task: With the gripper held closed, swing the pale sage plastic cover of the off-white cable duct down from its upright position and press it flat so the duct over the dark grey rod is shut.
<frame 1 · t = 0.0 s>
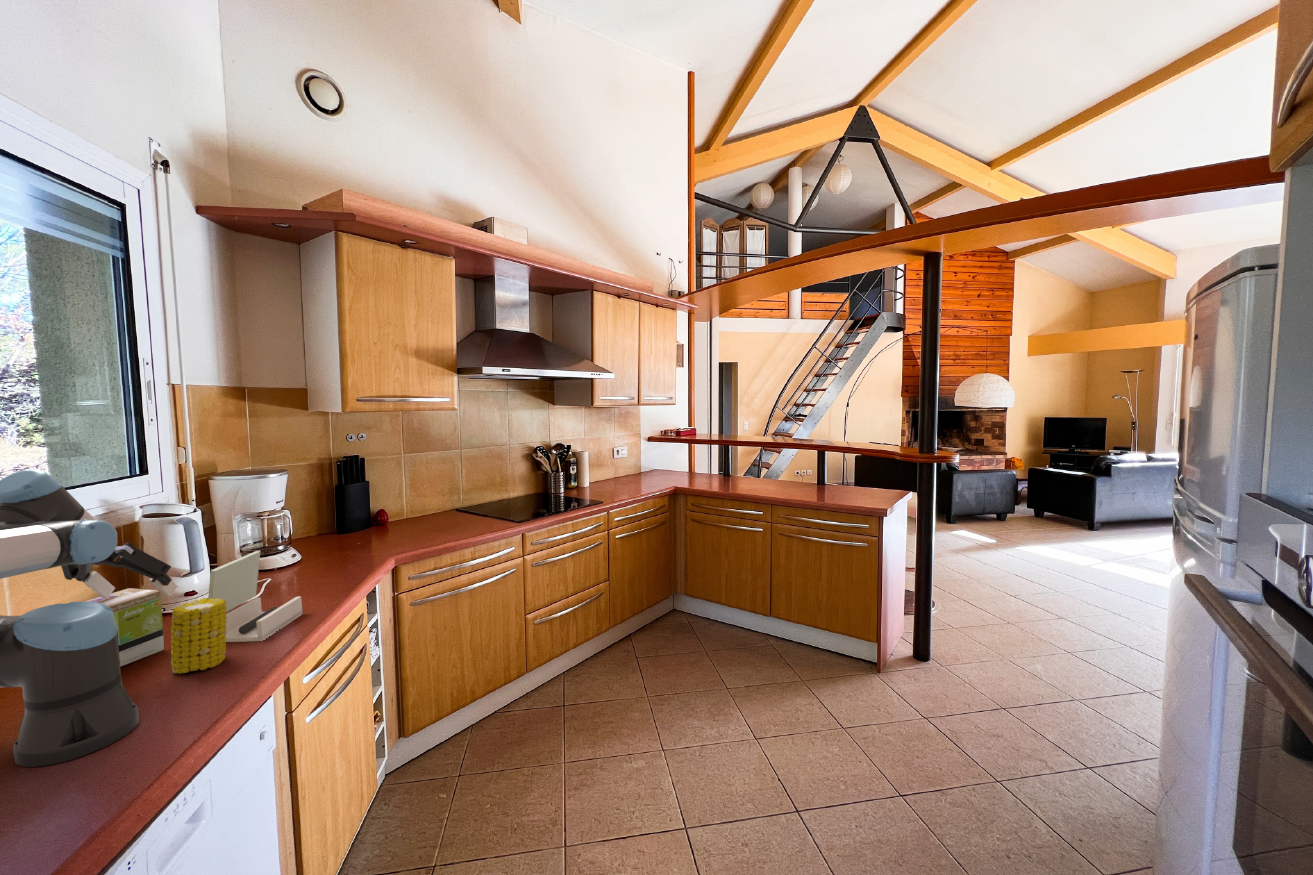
hand: (141, 592, 123), 16 cm above the countertop, tool tilted 35°, fingers open, 13 cm apart
tea box: (113, 663, 123), on the countertop, touching gripper
dark grey rod: (260, 627, 141), resting on cable duct
food: (202, 665, 122), on the countertop
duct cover: (234, 583, 140), point 12 cm above the countertop, hinge at 80.0°
cable duct: (260, 627, 141), on the countertop
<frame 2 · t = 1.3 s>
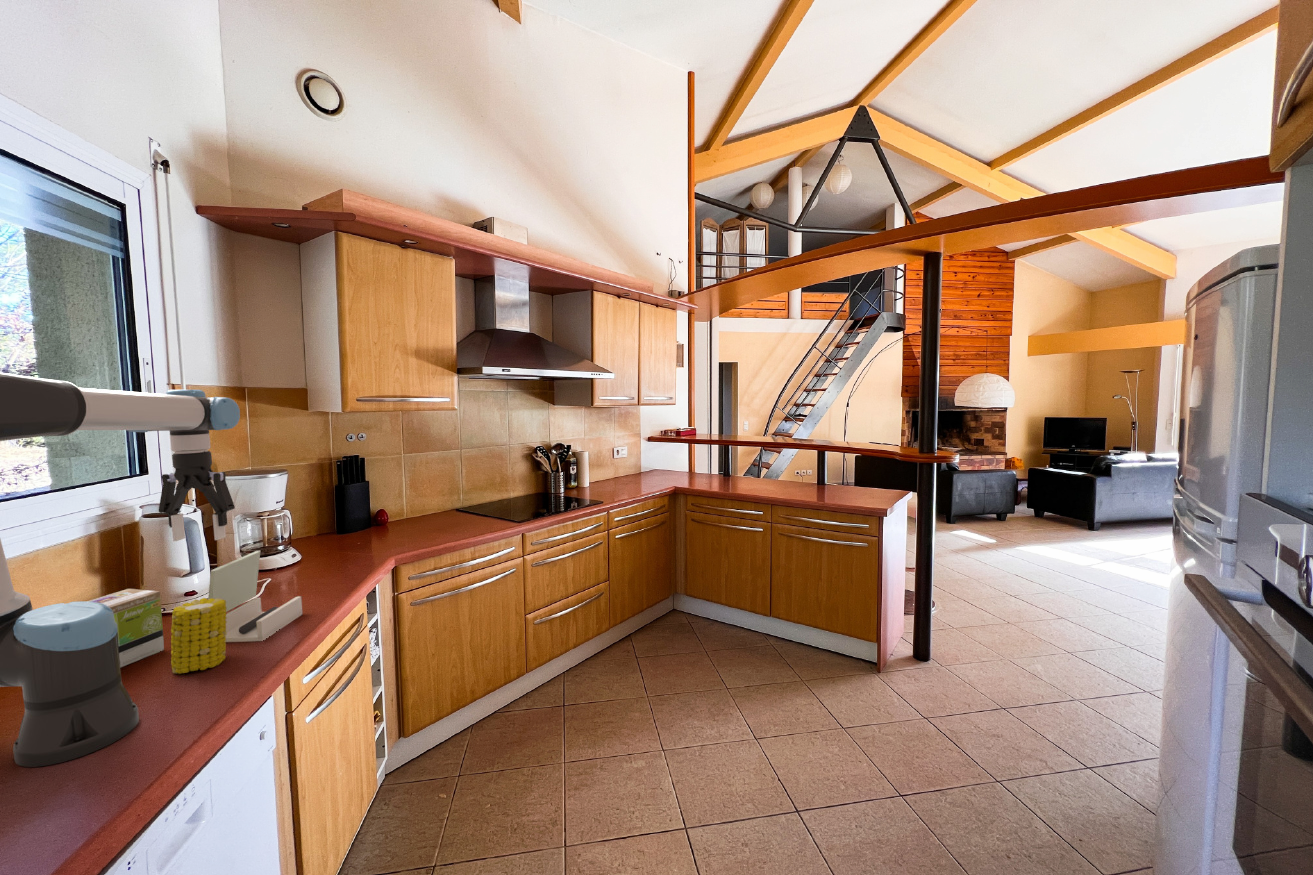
hand: (199, 539, 139), 24 cm above the countertop, tool pointing down, fingers open, 9 cm apart
tea box: (113, 664, 123), on the countertop
everything else where it was.
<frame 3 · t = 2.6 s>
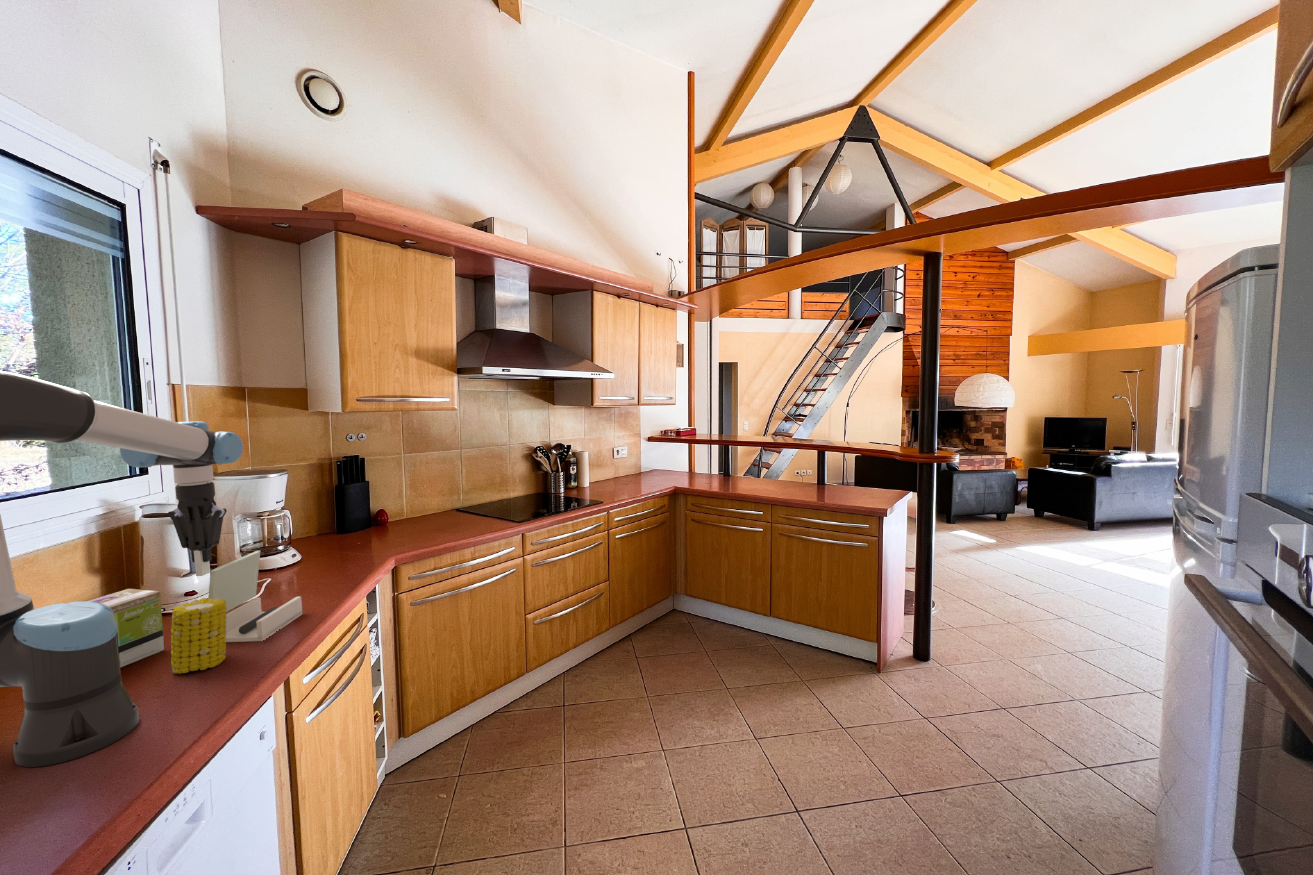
hand: (203, 574, 139), 15 cm above the countertop, tool pointing down, fingers closed
nothing on the countertop moved.
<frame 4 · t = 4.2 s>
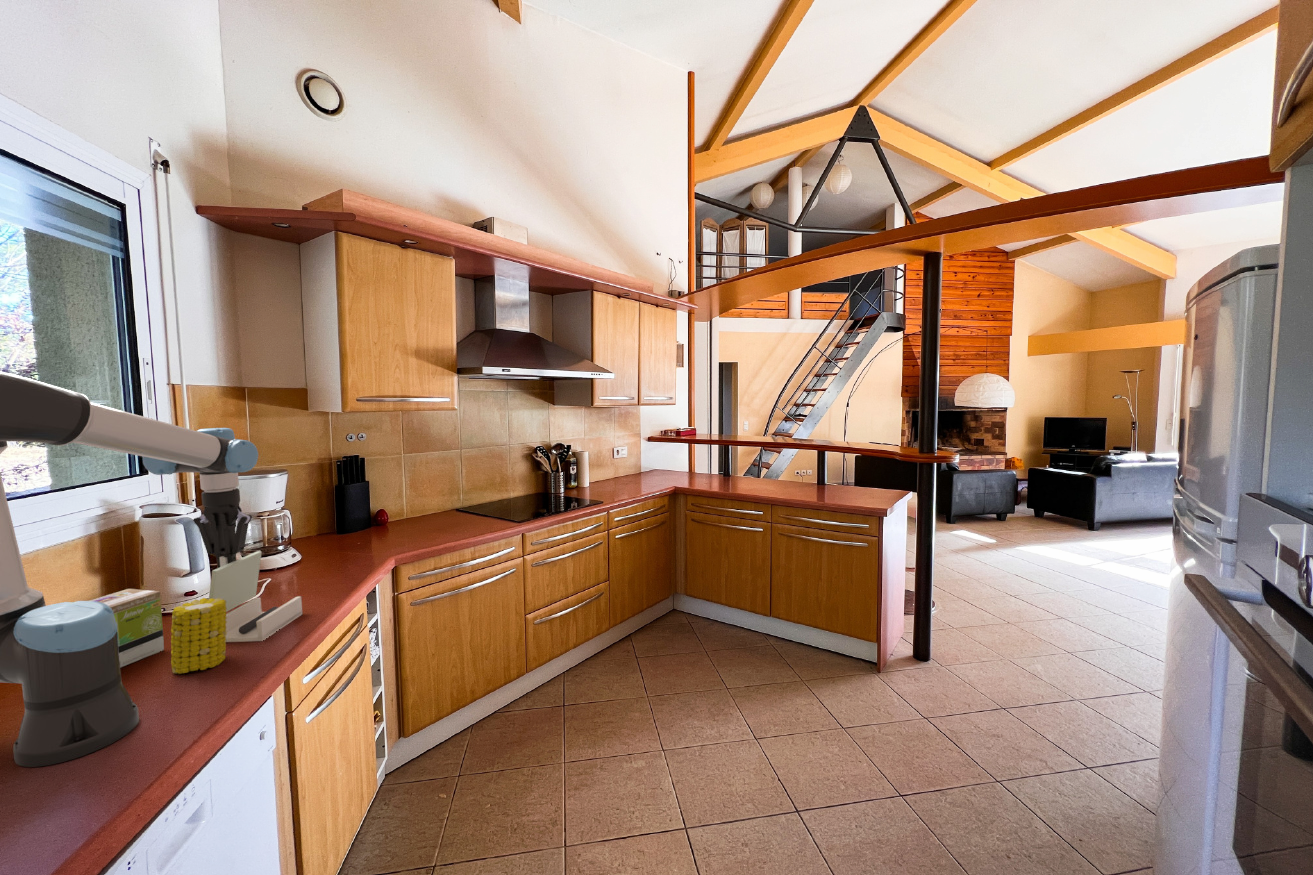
hand: (228, 580, 140), 13 cm above the countertop, tool pointing down, fingers closed
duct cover: (235, 584, 140), point 12 cm above the countertop, hinge at 78.4°, touching gripper
everything else where it was.
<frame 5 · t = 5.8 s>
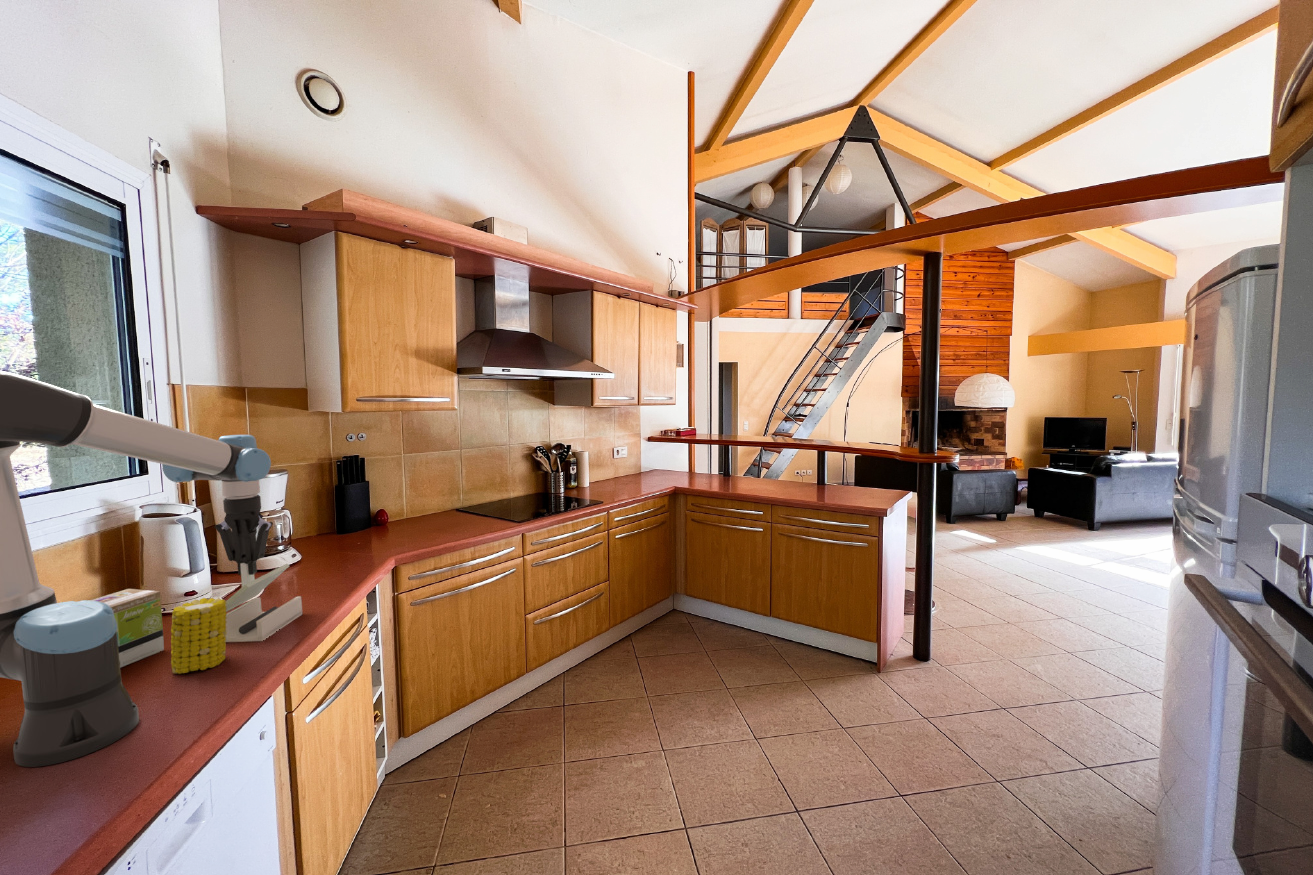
hand: (248, 586, 140), 11 cm above the countertop, tool pointing down, fingers closed
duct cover: (250, 590, 140), point 10 cm above the countertop, hinge at 39.9°, touching gripper
everything else where it was.
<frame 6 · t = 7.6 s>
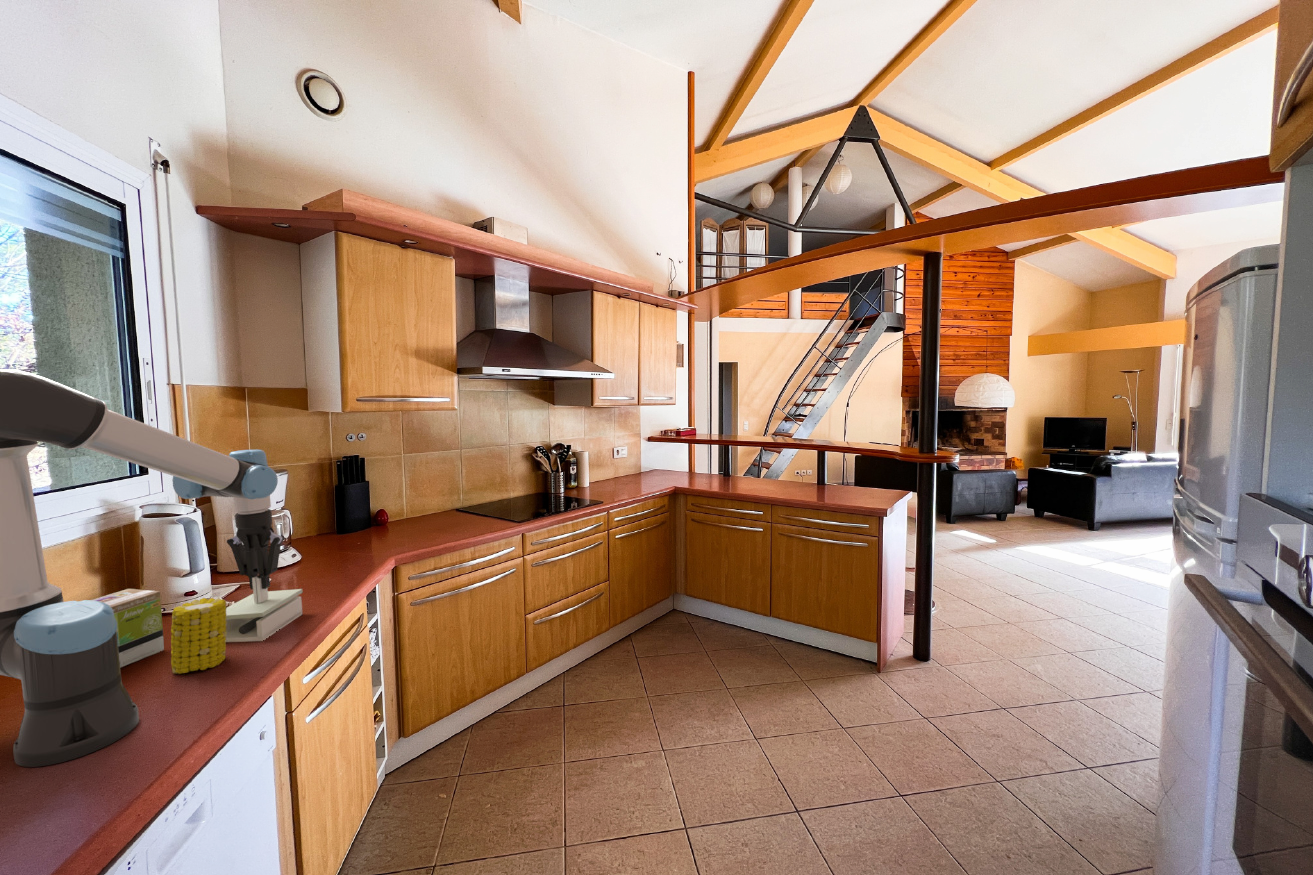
hand: (261, 600, 141), 7 cm above the countertop, tool pointing down, fingers closed
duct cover: (258, 603, 141), point 6 cm above the countertop, hinge at 2.8°, touching gripper
everything else where it was.
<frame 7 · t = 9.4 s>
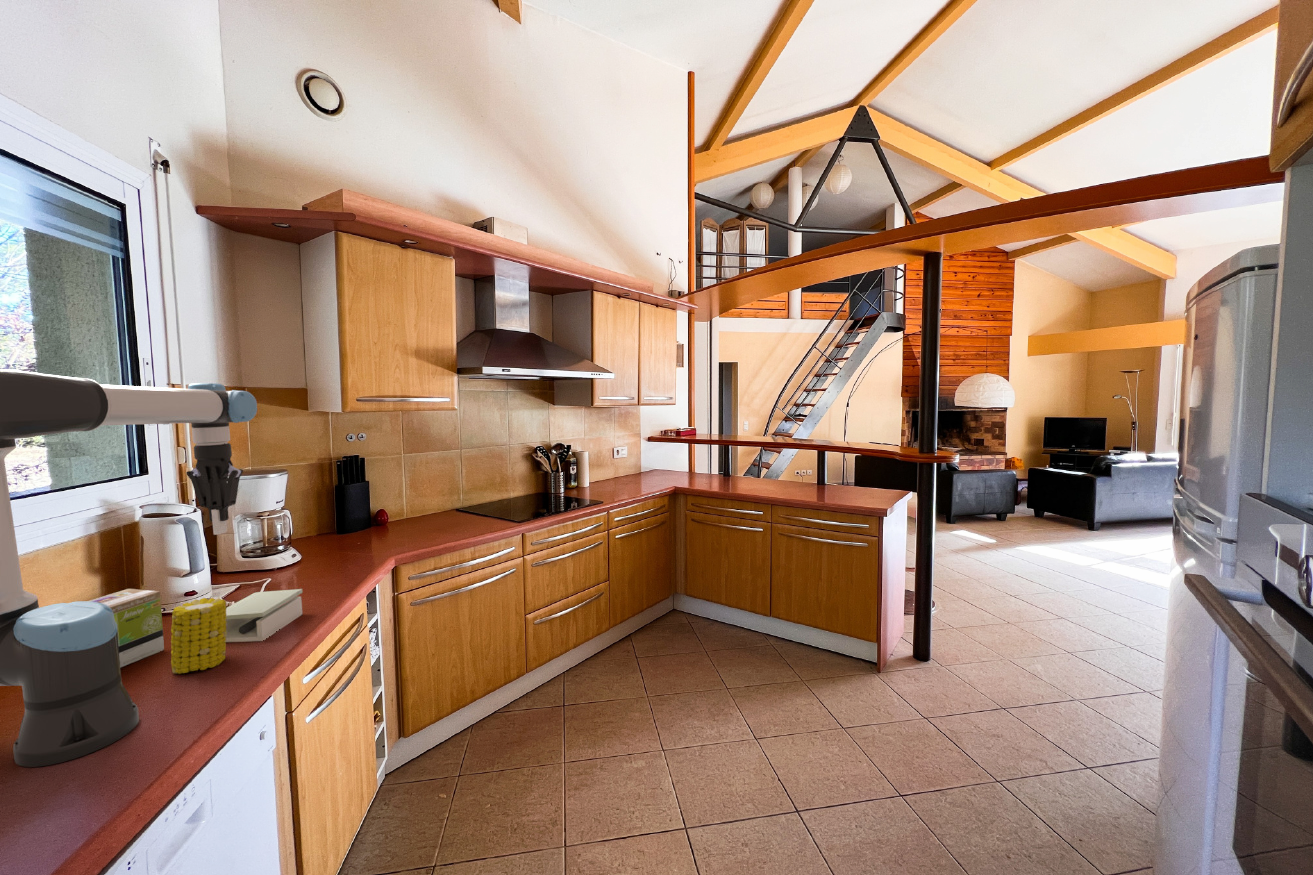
hand: (220, 533, 143), 24 cm above the countertop, tool pointing down, fingers closed
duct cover: (258, 603, 141), point 6 cm above the countertop, hinge at 2.7°
everything else where it was.
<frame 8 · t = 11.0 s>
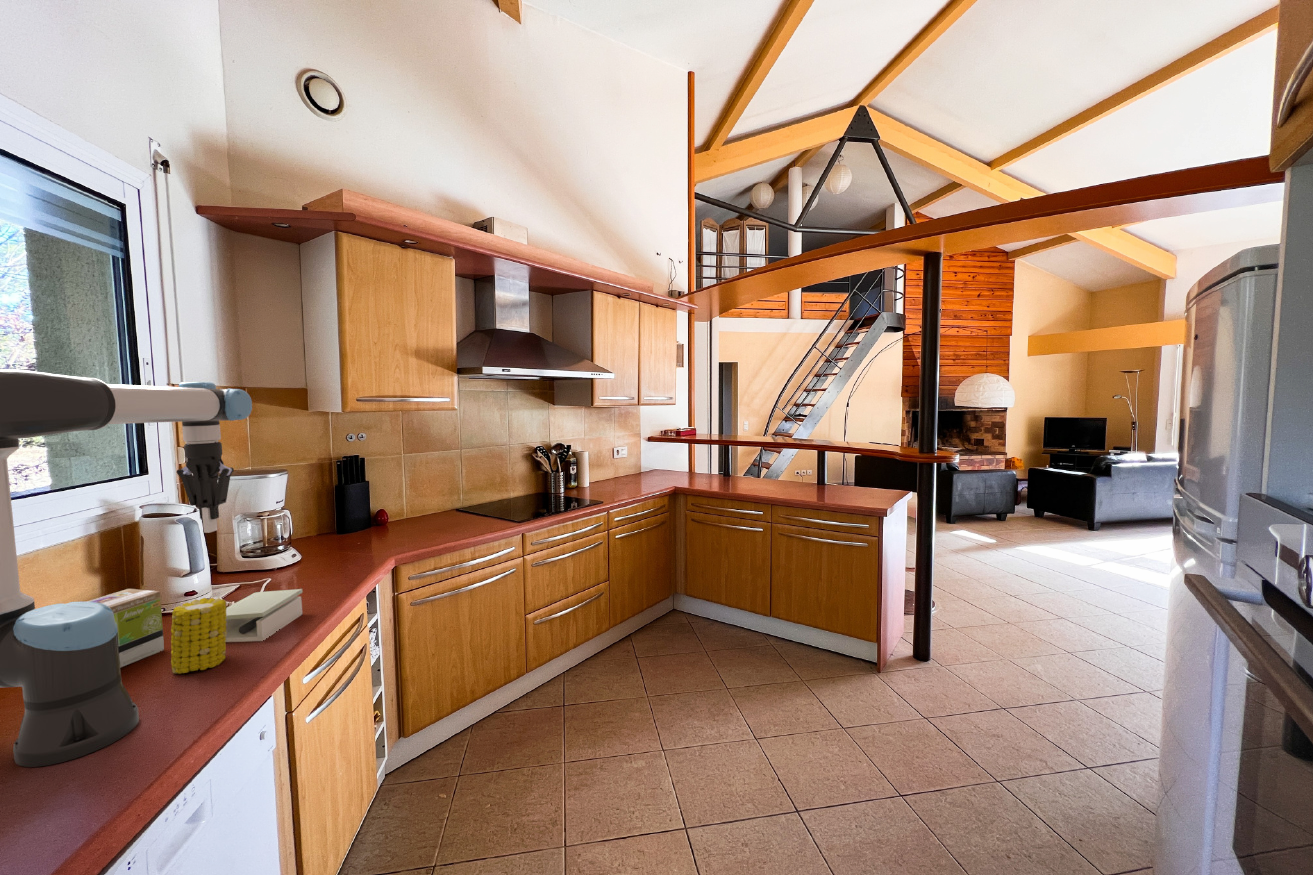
hand: (210, 531, 143), 24 cm above the countertop, tool pointing down, fingers closed
nothing on the countertop moved.
at the end: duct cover at +3° (first picture: +80°) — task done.
